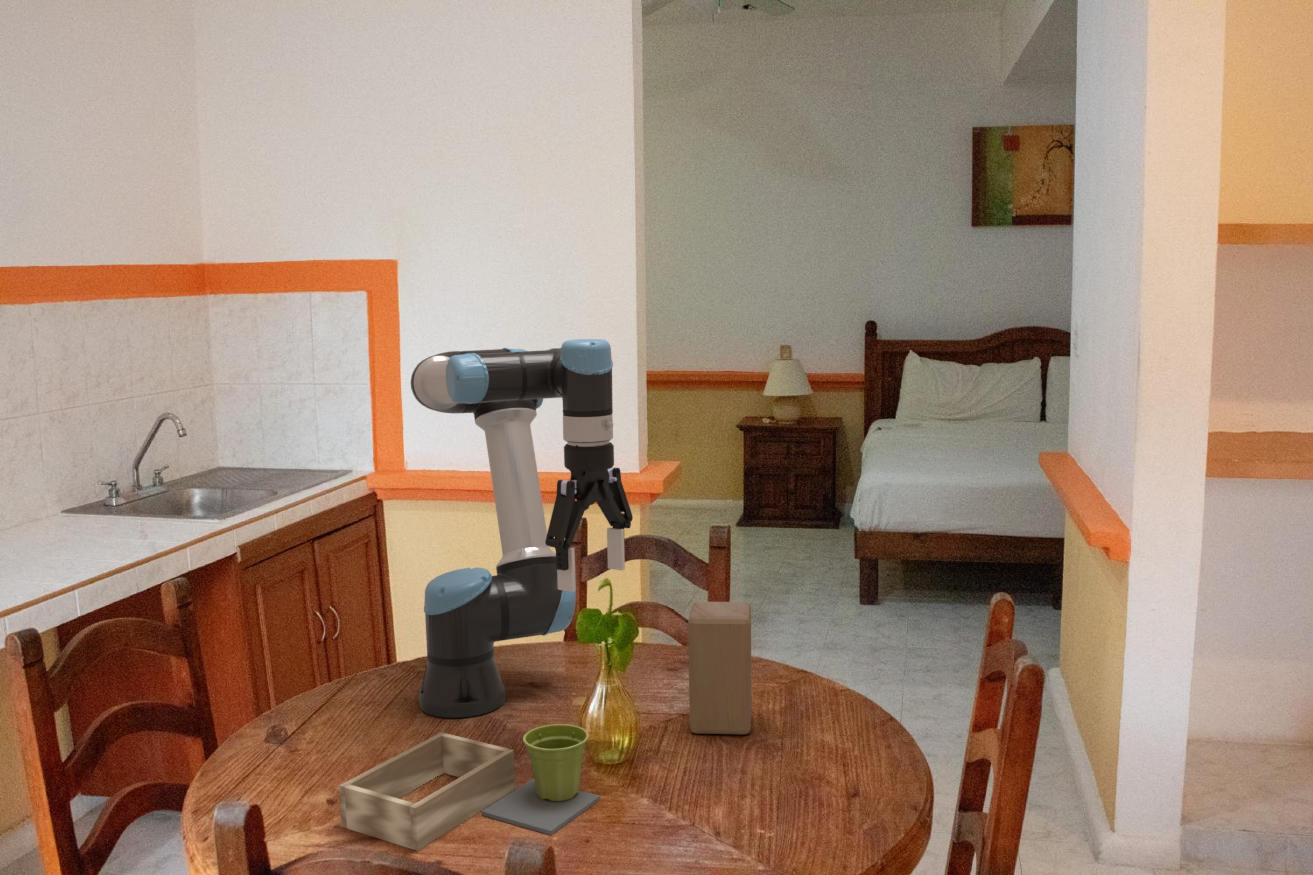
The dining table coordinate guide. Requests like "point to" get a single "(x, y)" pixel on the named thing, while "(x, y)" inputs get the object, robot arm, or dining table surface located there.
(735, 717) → the wooden block
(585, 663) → the dining table surface
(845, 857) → the dining table surface
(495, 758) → the crate
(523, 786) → the pad
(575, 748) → the plant pot
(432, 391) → the robot arm
